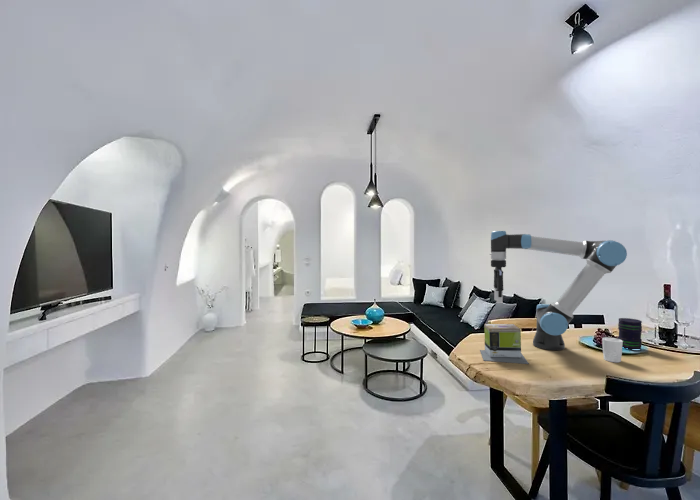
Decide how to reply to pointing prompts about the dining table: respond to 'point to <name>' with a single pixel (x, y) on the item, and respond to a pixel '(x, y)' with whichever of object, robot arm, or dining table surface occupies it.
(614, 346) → the white cup
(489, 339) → the tea box
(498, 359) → the mat
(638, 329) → the storage jar
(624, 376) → the dining table surface
